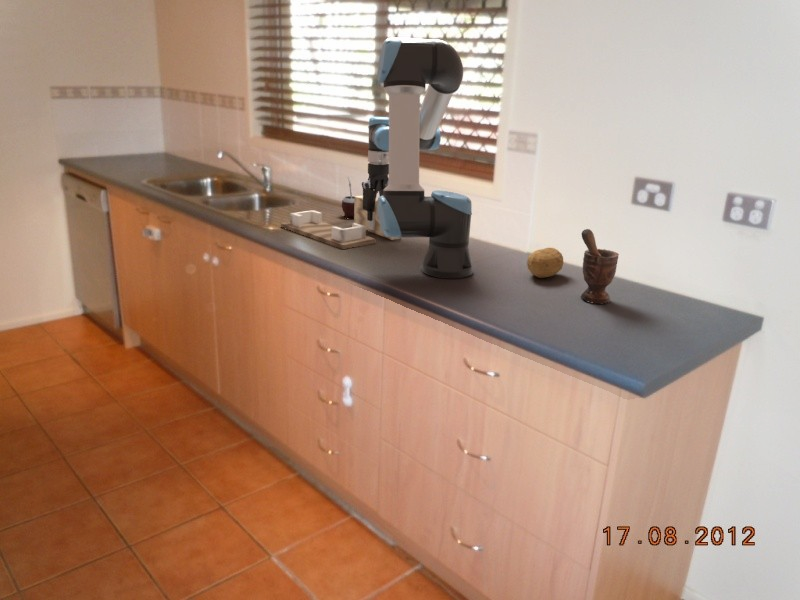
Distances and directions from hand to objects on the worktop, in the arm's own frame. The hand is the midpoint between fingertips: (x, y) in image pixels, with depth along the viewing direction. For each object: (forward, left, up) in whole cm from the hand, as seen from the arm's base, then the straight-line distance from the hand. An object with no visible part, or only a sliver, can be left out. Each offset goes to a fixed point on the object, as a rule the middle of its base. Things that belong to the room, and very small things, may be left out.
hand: (376, 228), depth 239 cm
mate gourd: (+21, +10, -1) cm, 24 cm away
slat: (0, 0, -1) cm, 1 cm away
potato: (-50, -48, -1) cm, 69 cm away
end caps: (-7, +18, 0) cm, 19 cm away
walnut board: (-7, +18, -1) cm, 19 cm away
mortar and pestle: (-71, -56, -1) cm, 90 cm away
